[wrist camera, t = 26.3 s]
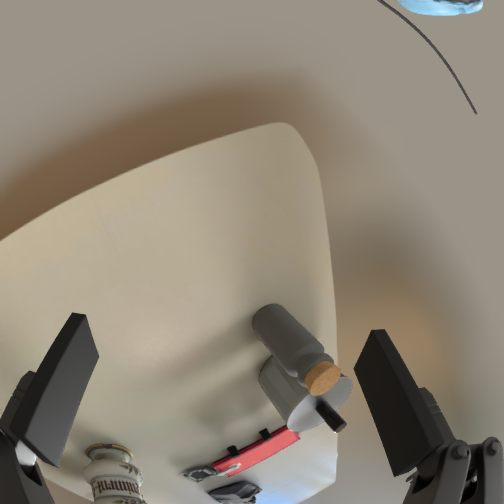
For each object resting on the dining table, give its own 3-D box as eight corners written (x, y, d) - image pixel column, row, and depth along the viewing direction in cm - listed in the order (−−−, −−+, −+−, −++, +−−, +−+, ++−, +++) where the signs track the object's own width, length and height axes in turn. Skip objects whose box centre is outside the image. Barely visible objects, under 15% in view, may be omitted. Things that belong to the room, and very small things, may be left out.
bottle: (258, 341, 44) (310, 405, 31) (246, 316, 41) (301, 384, 29) (289, 322, 45) (346, 379, 33) (279, 296, 42) (343, 355, 30)
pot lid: (352, 360, 41) (379, 384, 35) (345, 402, 47) (366, 424, 41) (280, 400, 37) (304, 432, 31) (286, 437, 42) (305, 462, 37)
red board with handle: (177, 470, 49) (203, 483, 57) (181, 479, 47) (207, 490, 54) (288, 415, 57) (297, 435, 65) (294, 423, 55) (303, 442, 62)
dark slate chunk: (250, 474, 64) (257, 485, 60) (262, 489, 74) (267, 498, 70) (204, 491, 59) (210, 503, 55) (223, 504, 69) (229, 513, 65)
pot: (315, 331, 49) (352, 364, 40) (315, 372, 55) (346, 404, 46) (254, 360, 45) (285, 403, 36) (263, 399, 51) (289, 437, 42)
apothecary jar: (132, 439, 41) (155, 520, 26) (140, 465, 44) (163, 533, 29) (73, 440, 35) (83, 521, 20) (90, 467, 39) (103, 536, 24)
